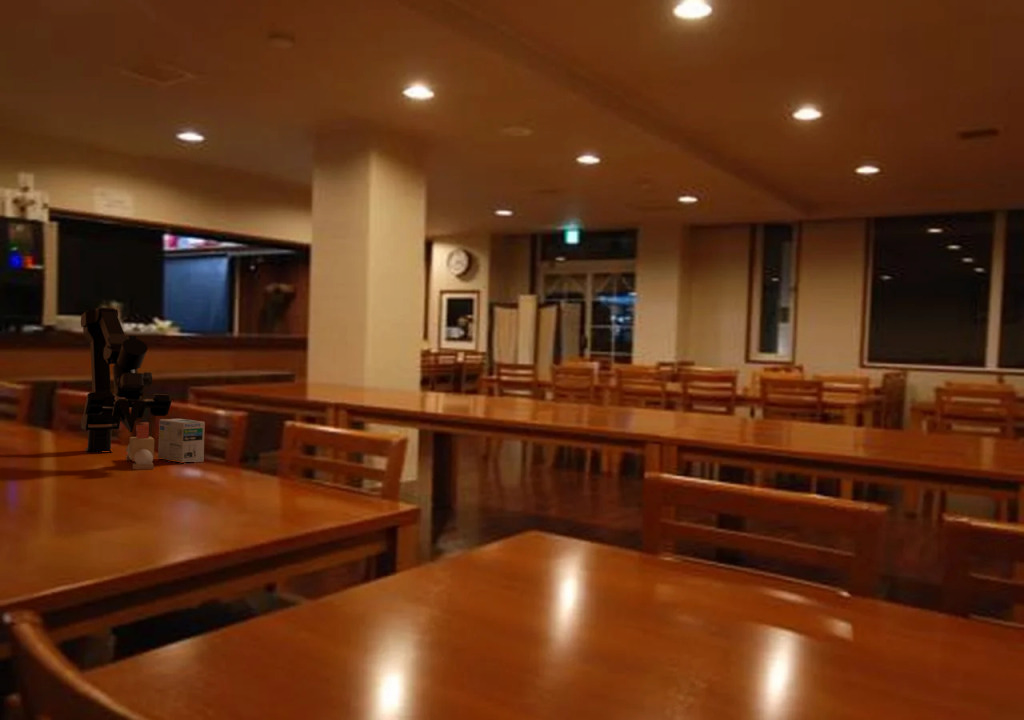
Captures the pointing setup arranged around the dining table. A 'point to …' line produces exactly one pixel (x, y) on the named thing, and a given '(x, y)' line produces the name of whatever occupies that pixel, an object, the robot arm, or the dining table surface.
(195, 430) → the light bulb box
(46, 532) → the dining table surface
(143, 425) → the valve lever
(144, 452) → the valve
